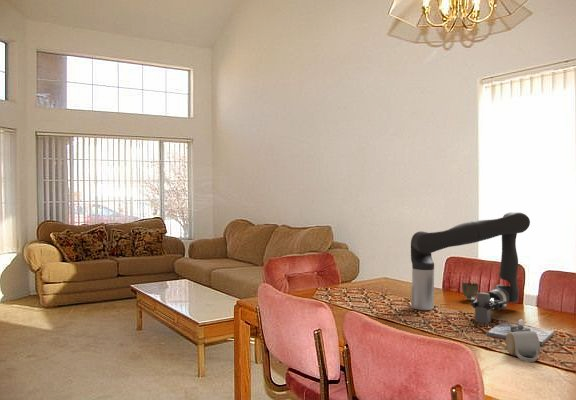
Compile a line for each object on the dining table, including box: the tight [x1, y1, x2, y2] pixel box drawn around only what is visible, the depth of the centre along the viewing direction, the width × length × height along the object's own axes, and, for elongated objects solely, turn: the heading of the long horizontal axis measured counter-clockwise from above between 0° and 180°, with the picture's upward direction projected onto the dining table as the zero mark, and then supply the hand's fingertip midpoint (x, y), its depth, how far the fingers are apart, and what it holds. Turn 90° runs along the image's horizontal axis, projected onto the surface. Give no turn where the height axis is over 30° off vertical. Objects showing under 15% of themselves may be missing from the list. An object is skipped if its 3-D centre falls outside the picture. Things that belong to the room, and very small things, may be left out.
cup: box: [461, 281, 479, 302], centre depth 241 cm, size 8×7×8 cm
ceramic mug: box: [505, 331, 541, 363], centre depth 158 cm, size 11×8×8 cm
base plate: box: [486, 319, 555, 346], centre depth 183 cm, size 18×18×5 cm
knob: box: [474, 292, 492, 325], centre depth 201 cm, size 5×5×11 cm
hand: (480, 306), depth 199 cm, fingers closed on knob, 4 cm apart
